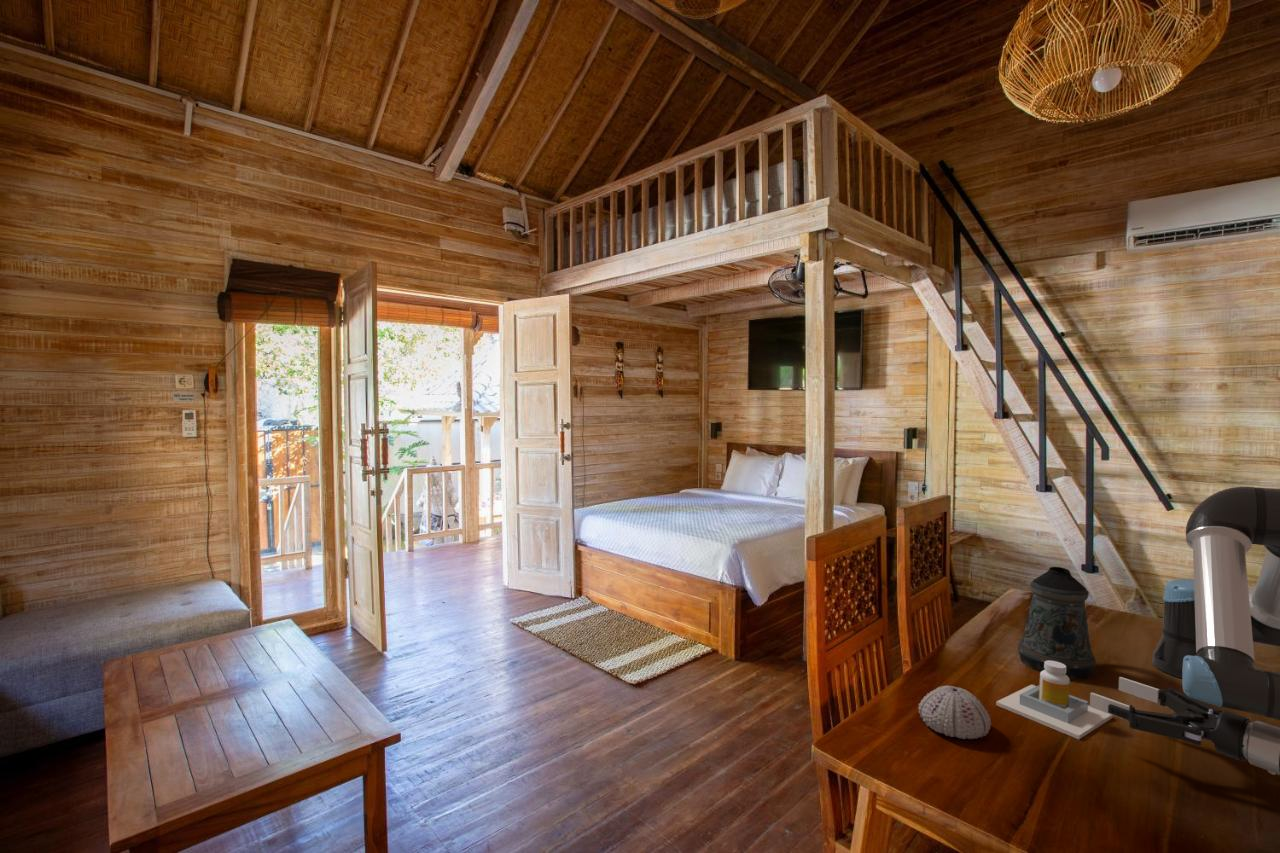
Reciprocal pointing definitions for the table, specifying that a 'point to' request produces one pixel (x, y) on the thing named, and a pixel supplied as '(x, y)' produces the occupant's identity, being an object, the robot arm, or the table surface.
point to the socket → (1055, 712)
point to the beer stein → (1058, 625)
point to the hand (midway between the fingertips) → (1105, 691)
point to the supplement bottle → (1054, 684)
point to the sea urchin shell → (955, 713)
